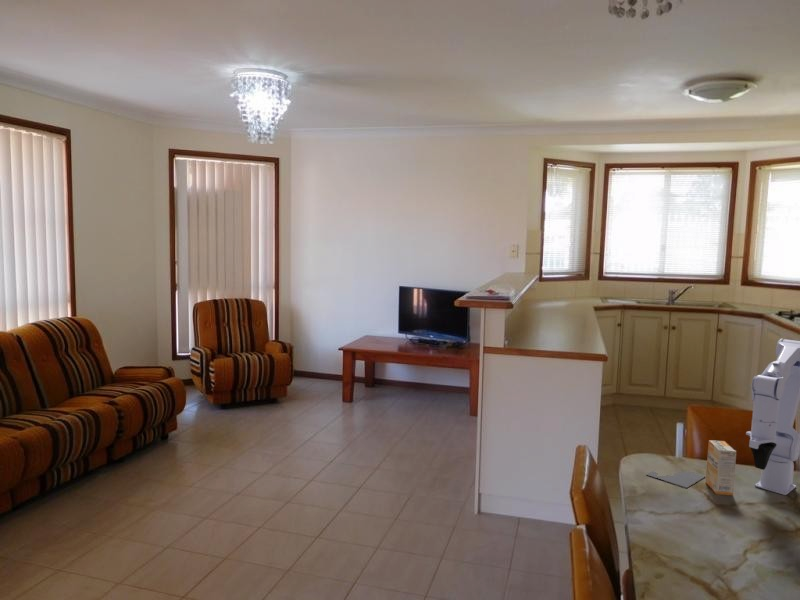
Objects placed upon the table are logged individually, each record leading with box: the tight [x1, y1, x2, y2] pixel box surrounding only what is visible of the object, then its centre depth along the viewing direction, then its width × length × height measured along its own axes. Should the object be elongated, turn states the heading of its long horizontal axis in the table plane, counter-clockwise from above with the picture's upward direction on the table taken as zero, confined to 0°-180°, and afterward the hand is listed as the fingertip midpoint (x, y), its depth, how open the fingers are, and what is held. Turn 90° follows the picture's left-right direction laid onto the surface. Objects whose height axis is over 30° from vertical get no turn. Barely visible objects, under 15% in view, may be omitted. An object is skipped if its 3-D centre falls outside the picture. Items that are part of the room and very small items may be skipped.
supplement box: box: [705, 439, 737, 496], centre depth 169 cm, size 8×5×13 cm, turn 172°
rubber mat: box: [645, 467, 706, 489], centre depth 178 cm, size 13×12×1 cm
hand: (760, 468), depth 161 cm, fingers closed
